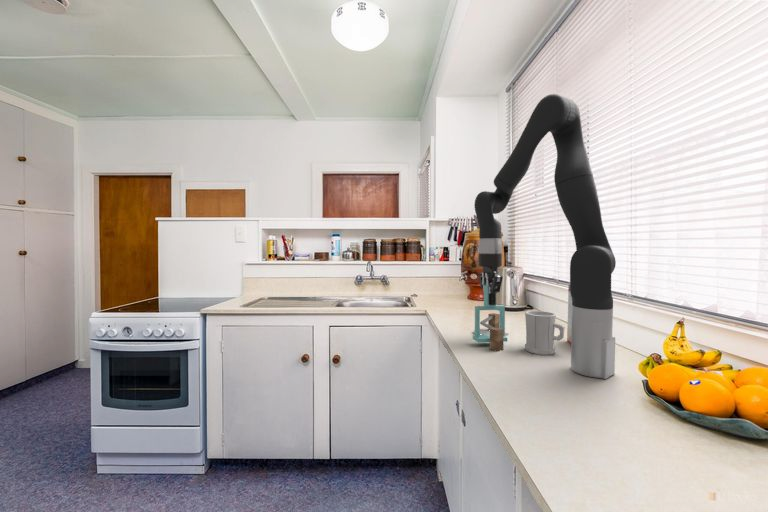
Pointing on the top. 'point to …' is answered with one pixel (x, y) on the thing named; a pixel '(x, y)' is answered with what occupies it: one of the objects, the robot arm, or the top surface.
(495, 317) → the wood grain block
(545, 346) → the cup
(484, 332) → the pad
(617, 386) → the top surface
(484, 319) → the wire
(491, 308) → the turquoise frame with handle
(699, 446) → the top surface
